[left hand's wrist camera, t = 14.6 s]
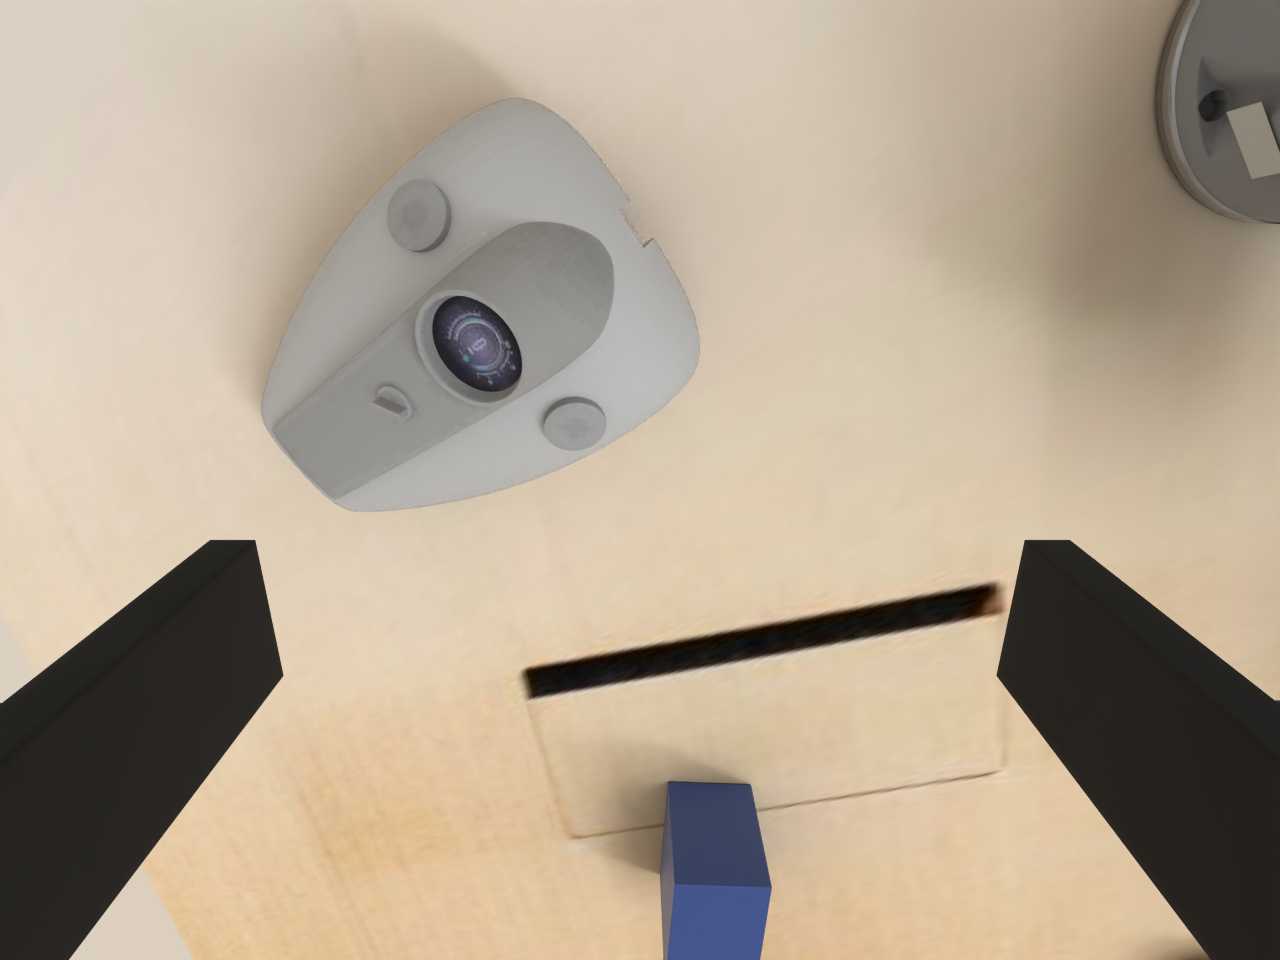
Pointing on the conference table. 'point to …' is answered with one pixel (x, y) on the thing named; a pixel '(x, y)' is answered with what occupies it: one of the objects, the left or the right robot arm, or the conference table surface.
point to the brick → (713, 874)
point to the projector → (478, 323)
